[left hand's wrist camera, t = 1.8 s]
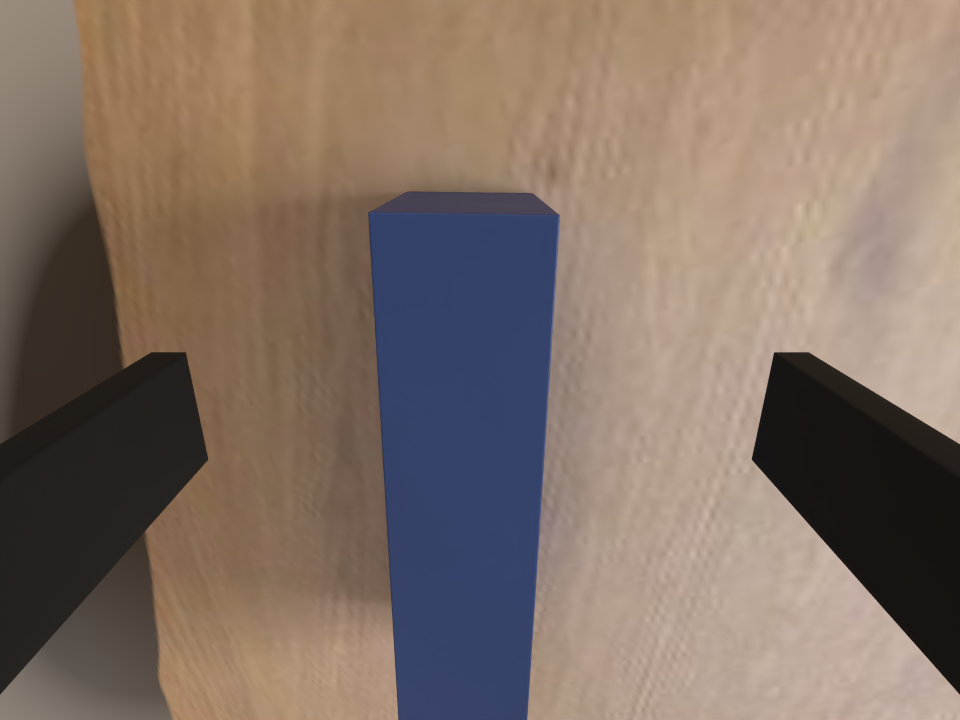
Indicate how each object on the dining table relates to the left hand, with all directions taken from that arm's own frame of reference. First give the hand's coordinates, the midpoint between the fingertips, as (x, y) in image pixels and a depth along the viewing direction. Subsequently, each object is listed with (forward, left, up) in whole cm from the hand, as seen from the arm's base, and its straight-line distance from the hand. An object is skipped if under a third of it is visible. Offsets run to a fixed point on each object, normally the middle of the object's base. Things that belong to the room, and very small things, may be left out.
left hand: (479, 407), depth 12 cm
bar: (+8, +2, -14) cm, 17 cm away
